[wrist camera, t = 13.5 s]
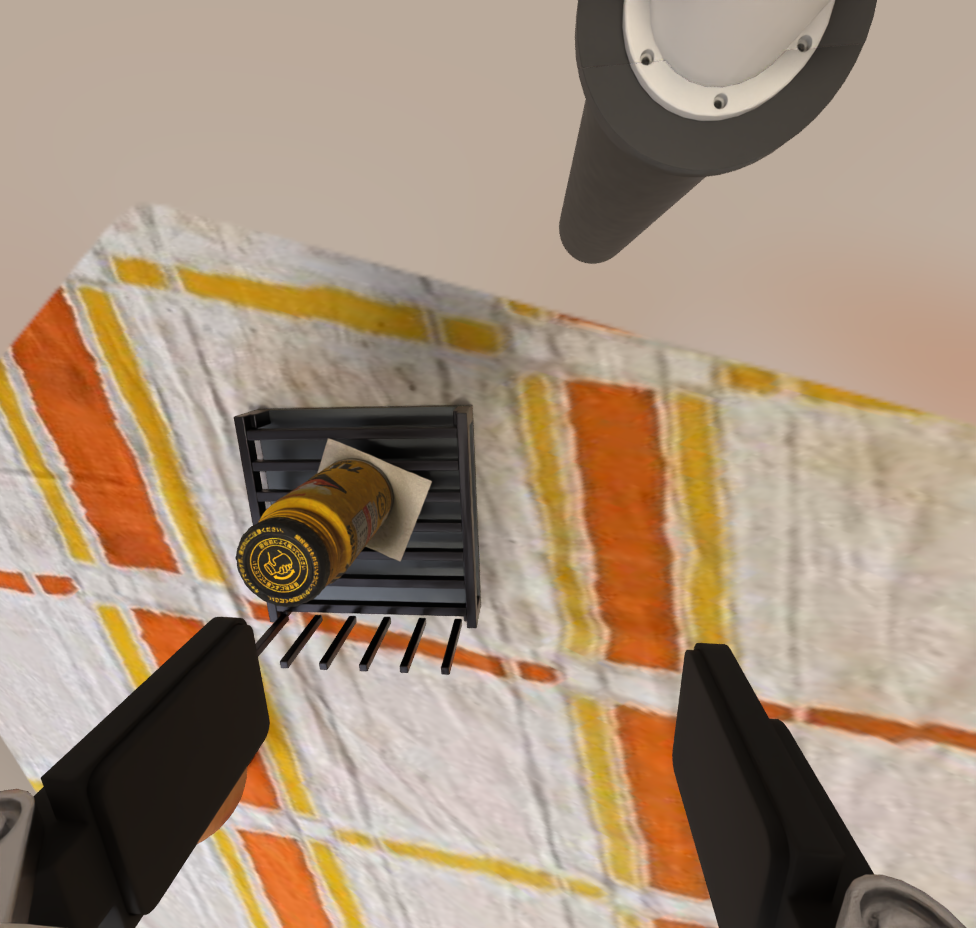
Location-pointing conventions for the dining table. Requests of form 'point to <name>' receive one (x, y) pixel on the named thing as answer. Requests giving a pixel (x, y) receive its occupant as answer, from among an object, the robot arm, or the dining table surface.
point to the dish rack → (372, 576)
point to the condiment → (330, 525)
